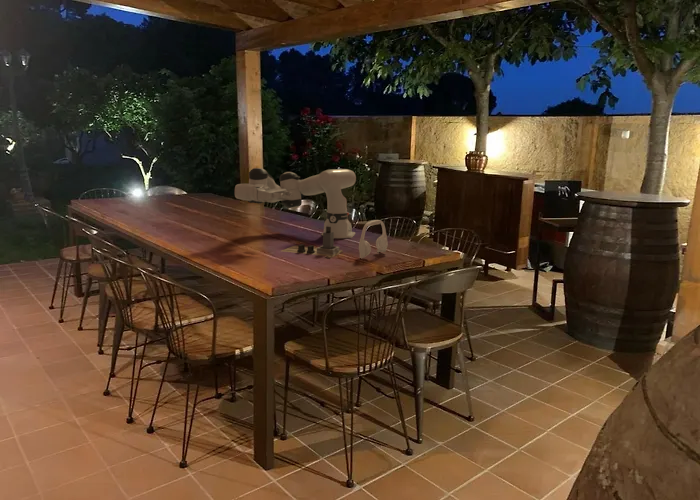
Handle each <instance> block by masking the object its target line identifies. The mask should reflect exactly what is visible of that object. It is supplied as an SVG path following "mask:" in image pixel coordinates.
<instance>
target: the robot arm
mask: <svg viewBox="0 0 700 500" xmlns="http://www.w3.org/2000/svg"><path fill="white" fill-rule="evenodd" d="M356 180H357V176H356V173H355V172H354V171H353V170H351V169H347V168H339V169H338V168H337V169H336V168H334V169H326V170H323V171H321V172H320V173H319V174H316V175H312V176H309V177H307V178H304V179H301V176H300V175H298V174H297V173H295V172H292V171H285V172H284V173H282V174H280V176H279V182H280V183H279V184H280V185H279V184H277V183H276V182H275V178H274V177H273V176H272V175H271V174H269V172H268V171H267V170H266V169H264V168H261V167H254V168H252V169H251V170H249V172H248V183H238V184H236V185H235V187H234V190H233V191H234V192H233V193H234V197H235V198H236V199H237V200H241V201H247V202H249V204H258V205H261V204H262V203H272V204H273V203H277V202H280V201H281V205H283V206H284V207H285V208H286V209H291V210H294V209H297V208H299V207H300V206H301V205H302V204H303V199H302V195H303V196H316V195H320V194H323V193H325V195H326V201H327V212H326V215H325V216H326V220H325V221H324V223H323V232H322V233H321V236H323V233H324V232H326V226H331V232H334V239H351V238H353V237H354V236H355V235H356V232H355V231H352V230H353V229H352V223H351V222H350V221H349V218H348V216H349V215H350V213H349V212H347V211H348V210H347V206H348V205H347V204H348V200H347V198H346V197H345V196H344V195H343V193H342V190H343V189H346V188H347V189H348V188H349V187H353V186H354V185H355V184H356V182H357V181H356Z"/></svg>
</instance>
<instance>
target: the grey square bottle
mask: <svg viewBox="0 0 700 500" xmlns="http://www.w3.org/2000/svg"><path fill="white" fill-rule="evenodd" d="M322 233H323V235H322V246H323V249H333V246H335V245H334V244H335V241H334V239H335V238H334V232H331V226H326V232H324V231H323V232H322Z"/></svg>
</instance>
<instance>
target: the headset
mask: <svg viewBox="0 0 700 500" xmlns="http://www.w3.org/2000/svg"><path fill="white" fill-rule="evenodd" d="M375 225H376V226H377V225H381V228H382V229H381V230H382V234H381V235H380V236H378V237H377V239H376V240H375V245H376V246H375V247H376V249H377V250H376V253H379V252H382V253H385V252H387V248H388V247H389V243H388V235H387V229H386V226H385V223H384V221H382V220H380V219H376V220H375V219H374V220H369V221H367V222H366V223H365V224H364V225H363V228H362V230H361V235H360V239H359V243H358V251H359V259H360V258H361V259H365V258H366V257H367V256H369V255H370V253H371V251H372V248H371V244H370V242H368V241H367V240H365V236H366V231H367V230H368V229H367V228H368V227H371V226H375Z"/></svg>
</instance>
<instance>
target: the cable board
mask: <svg viewBox="0 0 700 500" xmlns="http://www.w3.org/2000/svg"><path fill="white" fill-rule="evenodd" d="M340 248H341V247H340V246H337V245H336V246H335V245H333V249H323V245H321V246H318V247H315V245H311V244H310V245H308V246H306V245H305V244H299V245H293V246H290V247H287V248H284V249H282V250H281V252H283V253H294V254H295V253H296V254H304V255H305V254H306V255H310V256H311V255H312V256H313V255H314V256H323V257H324V259H332V258H334V257H336V256H338V255H340V254H341V253H344V252H343V249H340Z"/></svg>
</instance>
